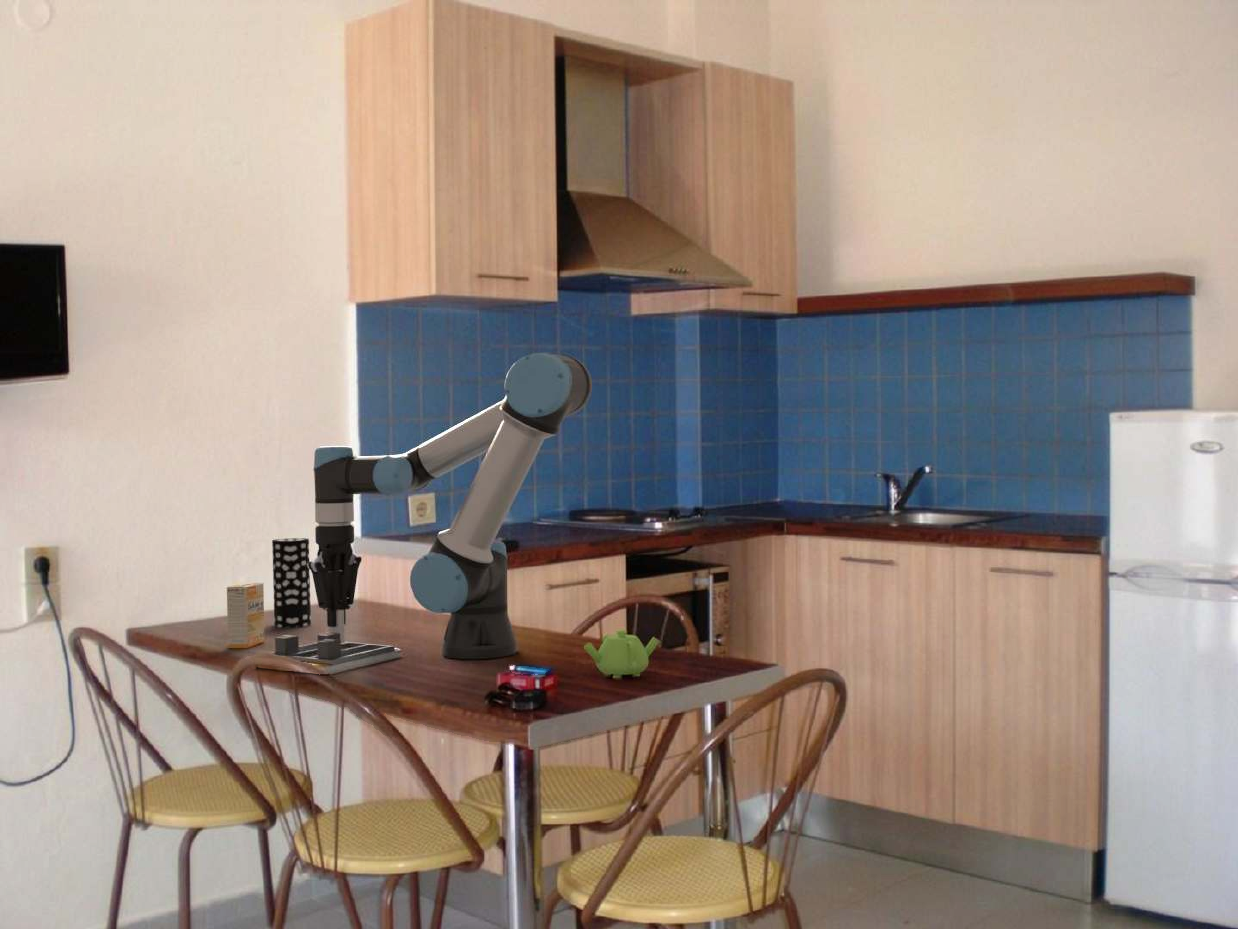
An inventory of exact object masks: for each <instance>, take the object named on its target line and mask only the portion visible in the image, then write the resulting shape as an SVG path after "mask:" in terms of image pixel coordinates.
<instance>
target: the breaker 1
mask: <svg viewBox="0 0 1238 929" xmlns="http://www.w3.org/2000/svg"><path fill="white" fill-rule="evenodd" d="M274 640H275V641H274V643H275V645H274V646H275V651H276V654H280V655H292V654H296V653H299V646H300V645H299V636H298V635H296V634H295V635H293V634H287V635H286V634H285V635H284V634H283V635H281V636H277V637H274Z"/></svg>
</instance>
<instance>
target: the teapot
mask: <svg viewBox="0 0 1238 929" xmlns="http://www.w3.org/2000/svg"><path fill="white" fill-rule="evenodd" d="M627 633H628V631H627V630H625V629H618V630H616V634H613V635H612V634H611V635H604V636H603V637H602V638H601V640H602V643H601V645H600V647H599V649H598V650H597V649H596V648H595V646H594V645H593V644H592V642H587V643H585V645H584V646H583V649H584V650H585V651H586V652H587V653H588V655H589V656H590V657H591V658H592V659H593V660H594V662H595V665H596V667H597V669H598V670H599V671H600V672H601V673H602V674H603V675H604V674H605V675H611V674H613V675H612V678H620V677H621V678H622V676H625V675H631V676H632V675H633V676H640V675H641V673H643V672H644V671H645V670H646V669H647V668H648V666H649V664H650V663H649V657H650V656H651V654H652V653H653V652H654V650H655V649H656V648H657V646H658V645H659V643H660V642H661V641H660V640H659V639H658V638H656V637H654V636H652V638H651V639H650V641H649V642H648V643H647V645H646V646H644V645H643V643H642V642H641V640H640V638H639V637H638V636H637V635H634V634H627ZM633 676H632V677H633Z"/></svg>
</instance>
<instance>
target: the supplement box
mask: <svg viewBox="0 0 1238 929" xmlns="http://www.w3.org/2000/svg"><path fill="white" fill-rule="evenodd" d="M264 591H265V590H264V582H244V583H240V584H236V585H230V586H227V587H226V606H227V608H226V610H227V648H229V649H248V648H251V647H255V646H257V645H259V644H263V643H265V606H264V604H265V602H264V601H265V599H264V598H265V596H264V594H265V592H264Z"/></svg>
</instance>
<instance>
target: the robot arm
mask: <svg viewBox="0 0 1238 929" xmlns="http://www.w3.org/2000/svg"><path fill="white" fill-rule="evenodd" d="M591 376H592V375H591V373H590V372H589V370H588V368H587V367H586V365H585V364H584V363H583V362H581V361H580V359H577V358H576V357H573V356H570V355H563V354H554V353H553V354H552V353H551V352H534V353H531V354H528V355H524V356H522V357H521V358H519V359H518V360H517V361H515V362H514V363H513V364H512V366H511V367H510V368H509V370H508V372H507V374H506V377H505V380H504V392H505V397H504V399H502V400H501V401H499V402H497V403H495V404H493V405H491V406H490V407H488V408H486V409H484V410H482V411H480V412H479V413H477V414H475V415H473V416H471V417H469V418H467V419H465V420H464V421H462V422H460V423H458V424H456V425H454V426H453V427H450V428H449V429H446V430H445V431H444V432H442V433H440V434H438V435H436V436H433V438H431V439H429V440H427V441H425V442H423V443H421V444H420V445H418V446H415V447H413V448H412V449H410V450H409V451H406V452H404V453H401V454H400V453H399V454H390V455H371V456H370V455H367V456H364V455H363V456H358V455H354V452H353V448H352V446H349V445H326V446H319V447H317V448H315V451H314V461H313V462H314V463H313V472H314V473H313V474H314V477H313V478H314V494H315V496H314V511H315V512H314V513H315V514H314V517H315V518H314V519H315V520H314V521H315V523H317V524H318V525H316V526H315V528H314V529H315V533H314V534H315V535H314V536H315V543H316V544H317V545H318V550H317V553H316V555H317V557H316V558H315V559H314V560H313V561H310V560H309V563H308V566H309V568H310V571H311V572H310V573H311V575H312V580H313V584H314V585H313V586H314V590H315V595H316V600H317V604H318V608H320V609H322V610H324V611H326V622H327V624H326V626H327V627H328V633H330V632H331V633H340V640H341V643H345V642H346V641H345V625H346V621H347V618H346V617H347V616H346V610H349V609H350V608H351V605H353V604H354V600H355V594H356V593H355V592H356V586H357V579H358V573H359V567H360V565H361V563H362V556H359V555H358V556H357V555H355V554H354V550H353V547H352V544H353V543H354V542H355V526H354V525H353V524H352V523H353V522H354V521H355V514H354V513H355V507H354V495H385V496H396V495H404V494H405V493H407V492H416V491H420V490H422V489H426V488H427V487H429V486H430V485H431V484H432V483H433V481H434V480H436V479H437V478H440V477H441V476H443V475H445V474H447V473H449V472H450V471H452V470H455V469H456V468H458V467H460V466H462V465H464V464H465V463H468V462H469V461H471V460H474V459H475V458H477V457H479V456H481V455H482V454H484V453H485V456H484V457H483V460H482V462H481V464H480V466H479V468H478V470H477V472H476V474H475V476H474V478H473V480H472V483H471V484H470V487H469V489H468V490H467V492H466V495H465V497H464V498H463V501H462V503H461V505H460V507H459V509H458V511H457V512H456V514H455V517H454V519H453V522H452V524H450V527H449V528H448V529H445V530H442V531H439V532H438V534H437V536H436V537H435V540H434V542H433V543H432V545H431V547H430V550H429V552H428V553H427V554H424V555H421V557H420V558H419V559H418V560H417V561H416V562H415V563H414V564H413V566H412V569H411V572H410V578H409V582H410V588H411V590H412V593H413V597H414V598H415V600H416V602H418V603H419V605H420V606H421V607H422V608H424V609H426V610H427V611H429V612H432V613H436V614H449V619H448V622H447V626H446V630H445V633H444V635H443V636H444V637H443V640H442V642H441V655H442V656H443V657H446V658H450V659H456V660H457V659H460V660H461V659H462V660H483V659H485V660H486V659H488V660H489V659H496V658H503V657H504V658H505V657H508V656H513V655H516V654H517V653H516V652H518V641H517V638H516V636H515V632H514V629H513V625H512V622H511V621H510V620H511V619H510V616H509V612H508V608H509V606H508V556H507V546H506V544H505V543H504V541H500V540H495V539H496V537H497V535H498V533H499V531H500V529H501V527H502V525H503V523H504V522H505V519H506V517H507V515H508V513H509V511H510V509H511V507H512V505H513V503H514V501H515V499H516V496H517V495H518V493H519V491H520V489H521V487H522V485H523V482H524V481H525V479H526V478H527V475H528V473H529V471H530V469H531V466H532V465H533V463H534V461H535V458H536V457H537V455H538V453H539V451H540V448H541V447H542V445H543V443H544V440H546V439H548V438H552V437H555V436H556V435H557V433H558V431H559V429H560V428H561V424H562V423H563V421H564V419H565V418H566V417H568V416H570V415H573V414H575V413H578V412H579V411H580V410H582V409H583V408H584V407H585V406H586V404H587V403H588V401H589V400H590V397H591V395H592V391H593V382H592V381H593V380H592V377H591Z"/></svg>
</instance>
